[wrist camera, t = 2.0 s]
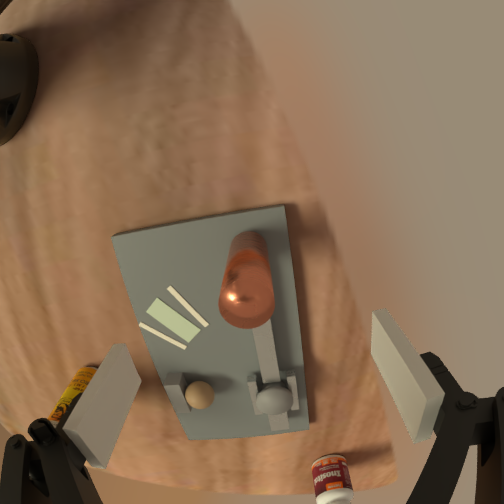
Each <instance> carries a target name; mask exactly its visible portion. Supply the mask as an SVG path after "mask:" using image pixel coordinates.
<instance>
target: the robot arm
mask: <svg viewBox="0 0 504 504" xmlns="http://www.w3.org/2000/svg"><path fill="white" fill-rule="evenodd" d="M12 1H13V0H0V14H1V13H2V12H3V11H4V10H5V9H6V7H7V6H8V5H9V4H10V3H11V2H12ZM37 82H38V58H37V54H36V51H35V49H34V47H33V45H32V44H31V43H30V42H29V41H28V40H27V39H25V38H23V37H20V36H17V35H14V34H0V146H1V145H3V144H4V143H6V142H7V141H8V140H10V139H11V138H12V137H13V136H14V134H15V133H16V132H17V131H18V129H19V128H20V127H21V125H22V124H23V122H24V120H25V118H26V116H27V114H28V112H29V110H30V107H31V105H32V102H33V99H34V96H35V92H36V88H37ZM371 355H372V357H373V359H374V361H375V363H376V365H377V367H378V369H379V371H380V373H381V375H382V377H383V379H384V381H385V383H386V385H387V387H388V389H389V391H390V393H391V395H392V398H393V400H394V402H395V404H396V406H397V408H398V410H399V412H400V415H401V417H402V419H403V421H404V423H405V425H406V428H407V430H408V432H409V434H410V436H411V439H412V440H413V443H414V444H415V443H418V442H421V441H424V440H427V439H430V437H431V435H432V432H433V430H434V432H435V434H436V436H437V438H436V440H435V443H434V445H433V448H432V450H431V453H430V455H429V457H428V459H427V462H426V464H425V466H424V468H423V471H422V473H421V475H420V477H419V479H418V481H417V483H416V485H415V487H414V489H413V491H412V493H411V495H410V497H409V499H408V501H407V503H406V504H449V502H450V499H451V497H452V495H453V492H454V489H455V487H456V484H457V482H458V479H459V476H460V473H461V471H462V467H463V465H464V462H465V458H466V455H467V452H468V449H469V446H470V445H477V446H478V448H477V450H478V453H477V481H476V494H475V504H504V387H502V388H501V389H499V391H498V392H497V394H496V396H495V397H489V398H477V396H475V395H474V394H472V393H470V392H464V391H463V390H462V388H461V387H460V386H459V385H458V383H457V381H456V380H455V379H454V377H453V376H452V375H451V373H450V372H449V371H448V369H447V368H446V367H445V366H444V364H443V362H442V361H441V360H440V358H439V357H438V356H436V355H435V354H433V353H431V352H427V353H424V354H420V355H419V354H418V352H417V351H416V350H415V348H414V347H413V345H412V344H411V342H410V341H409V339H408V338H407V337H406V335H405V334H404V332H403V331H402V330H401V328H400V327H399V325H398V324H397V323H396V322H395V320H394V319H393V317H392V316H391V315H390V314H389V312H388V310H387V309H386V308H385V309H380V310H375V311H372V341H371ZM141 382H142V381H141V379H140V376H139V374H138V372H137V370H136V368H135V365H134V363H133V361H132V358H131V356H130V354H129V351H128V349H127V346H126V344H125V343H123V344H113V346H112V347H111V349H110V351H109V352H108V354H107V355H106V357H105V358H104V360H103V362H102V363H101V365H100V366H99V368H98V370H97V371H96V373H95V374H94V376H93V378H92V379H91V381H90V383H89V384H88V386H87V387H86V389H85V391H84V392H80V393H79V394H78V395H76V396H75V397H74V398H73V399H72V401H71V403H70V404H69V407H68V408H67V409H66V412H65V413H64V414H63V416H62V418H61V419H60V421H59V423H58V424H57V426H56V428H54V426H53V425H52V423H51V422H50V421H49V420H48V419H46V418H40V419H37V420H35V421H33V422H32V423H31V424H30V426H29V428H28V433H29V435H30V436H31V437H32V439H33V440H34V441H27V440H26V438H25V437H24V436H23V435H21V434H16V435H13V436H12V437H10V438H9V439H8V441H7V443H6V446H5V452H4V459H3V465H2V472H1V481H0V504H103V503H102V501H101V499H100V497H99V495H98V492H97V490H96V488H95V486H94V484H93V482H92V479H91V477H90V475H89V473H88V470H87V468H86V467H85V466H84V463H85V461H86V460H87V461H88V462H89V463H90V465H91V466H92V467H96V468H102V469H106V467H107V464H108V462H109V459H110V457H111V454H112V452H113V449H114V446H115V444H116V442H117V439H118V437H119V434H120V432H121V429H122V427H123V424H124V422H125V419H126V417H127V415H128V412H129V410H130V408H131V405H132V403H133V400H134V398H135V396H136V393H137V391H138V389H139V386H140V384H141Z"/></svg>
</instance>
